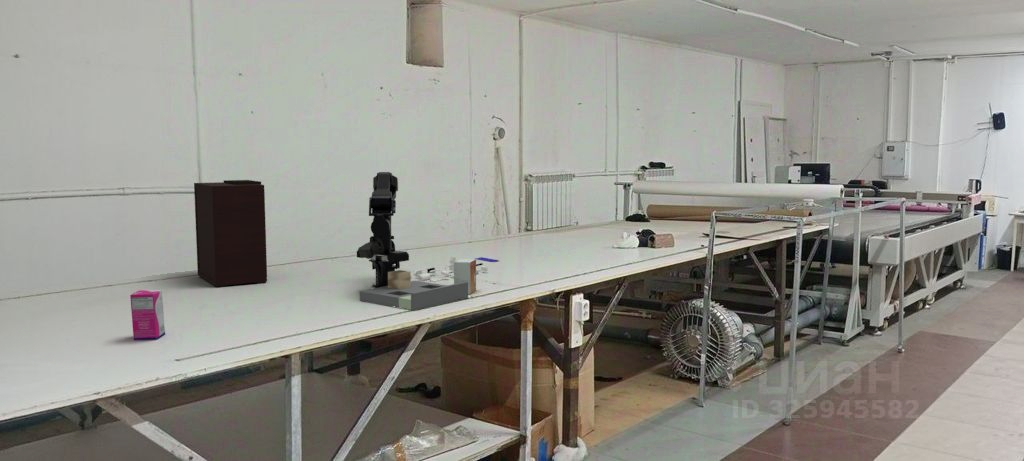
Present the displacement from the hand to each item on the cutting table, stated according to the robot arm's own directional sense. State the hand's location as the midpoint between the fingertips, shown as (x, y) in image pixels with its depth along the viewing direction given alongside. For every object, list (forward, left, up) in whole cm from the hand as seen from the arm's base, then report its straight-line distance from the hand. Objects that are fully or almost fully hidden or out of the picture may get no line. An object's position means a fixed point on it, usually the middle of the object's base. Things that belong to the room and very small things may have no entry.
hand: (382, 281), depth 247 cm
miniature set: (-7, +40, -5) cm, 41 cm away
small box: (+19, +19, -4) cm, 27 cm away
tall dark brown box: (-61, -14, -4) cm, 63 cm away
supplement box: (-3, -75, -4) cm, 75 cm away
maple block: (+8, 0, -1) cm, 8 cm away
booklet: (-24, +70, -5) cm, 74 cm away
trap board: (+14, 0, -4) cm, 14 cm away
